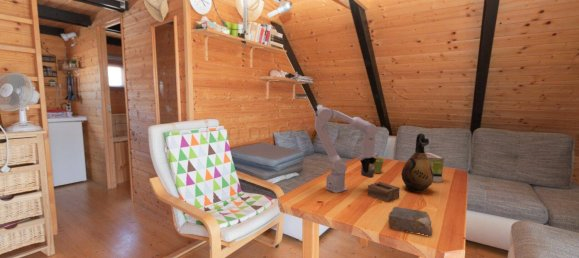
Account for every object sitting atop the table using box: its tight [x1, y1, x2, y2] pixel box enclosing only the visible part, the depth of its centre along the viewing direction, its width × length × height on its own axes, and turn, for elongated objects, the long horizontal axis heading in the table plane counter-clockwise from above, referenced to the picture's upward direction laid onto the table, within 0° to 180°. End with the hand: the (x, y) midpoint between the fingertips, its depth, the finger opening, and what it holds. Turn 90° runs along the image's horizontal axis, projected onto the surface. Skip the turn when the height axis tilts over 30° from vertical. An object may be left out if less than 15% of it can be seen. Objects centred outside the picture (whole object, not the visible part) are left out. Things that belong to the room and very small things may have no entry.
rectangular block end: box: [360, 163, 375, 179], centre depth 144 cm, size 2×6×7 cm, turn 38°
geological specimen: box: [388, 206, 433, 237], centre depth 104 cm, size 11×6×15 cm
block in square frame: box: [367, 181, 401, 203], centre depth 135 cm, size 10×11×5 cm
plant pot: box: [374, 157, 385, 174], centre depth 178 cm, size 9×9×9 cm
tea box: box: [425, 152, 445, 183], centre depth 166 cm, size 15×10×15 cm
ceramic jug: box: [401, 132, 434, 194], centre depth 145 cm, size 17×15×30 cm
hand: (367, 171), depth 144 cm, fingers closed on rectangular block end, 2 cm apart
